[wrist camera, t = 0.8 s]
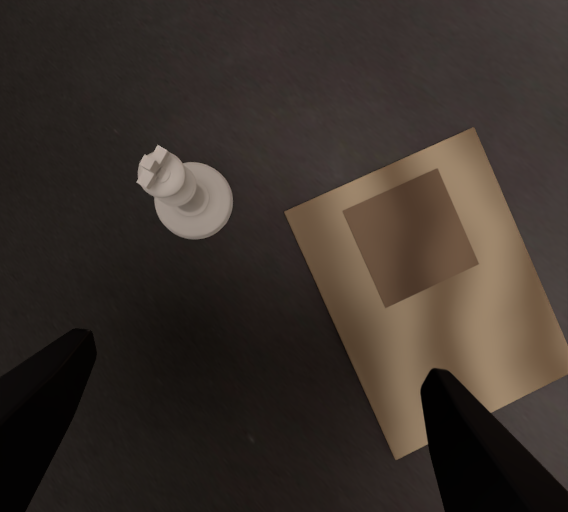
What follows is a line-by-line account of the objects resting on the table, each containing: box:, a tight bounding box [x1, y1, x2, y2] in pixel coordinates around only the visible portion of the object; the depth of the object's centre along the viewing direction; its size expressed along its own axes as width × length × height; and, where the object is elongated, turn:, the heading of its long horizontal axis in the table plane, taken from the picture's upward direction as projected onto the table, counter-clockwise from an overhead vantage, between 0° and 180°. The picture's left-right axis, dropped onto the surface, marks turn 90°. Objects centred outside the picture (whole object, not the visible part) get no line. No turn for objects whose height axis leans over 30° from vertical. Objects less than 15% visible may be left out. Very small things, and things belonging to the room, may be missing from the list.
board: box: [284, 127, 568, 460], centre depth 24 cm, size 14×18×1 cm
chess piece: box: [137, 145, 233, 239], centre depth 19 cm, size 5×5×10 cm
